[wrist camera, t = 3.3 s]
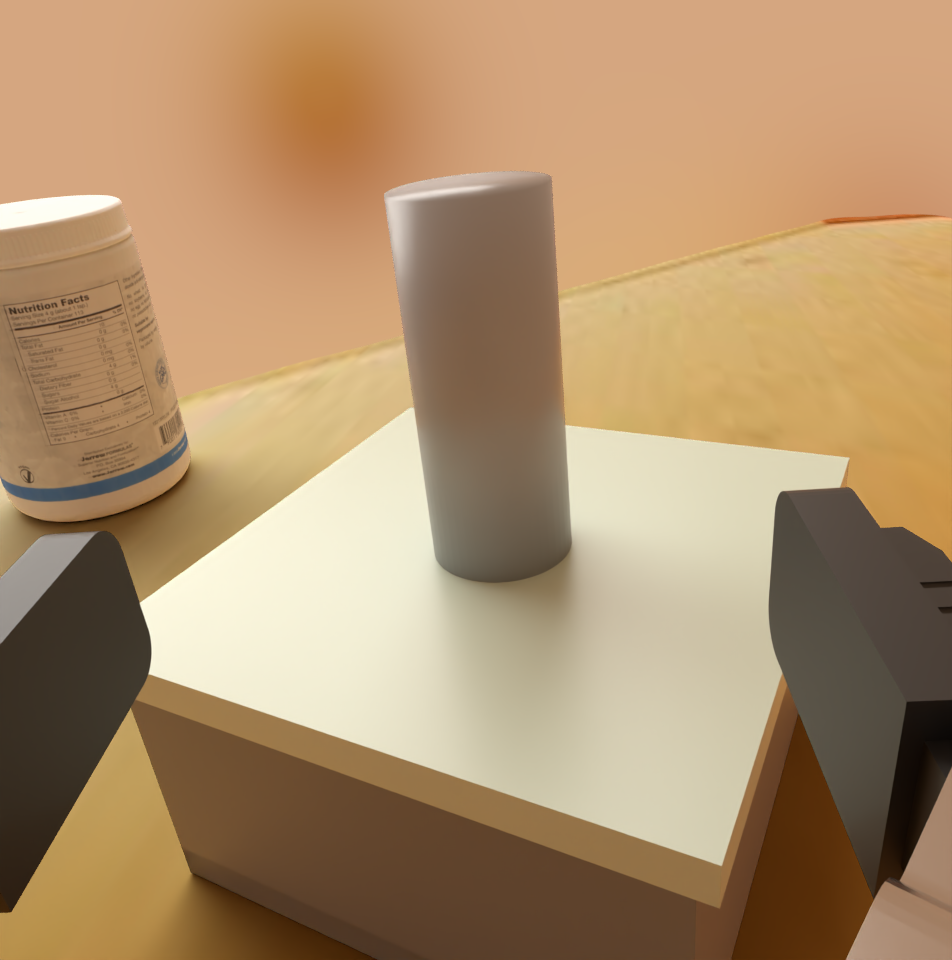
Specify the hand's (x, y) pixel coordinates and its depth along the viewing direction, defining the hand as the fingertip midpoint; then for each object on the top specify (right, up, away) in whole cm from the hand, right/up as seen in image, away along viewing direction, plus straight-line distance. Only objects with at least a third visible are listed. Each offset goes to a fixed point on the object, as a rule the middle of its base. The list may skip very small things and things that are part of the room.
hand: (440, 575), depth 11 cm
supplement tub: (-20, +1, +37) cm, 42 cm away
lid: (+1, -1, +13) cm, 13 cm away
